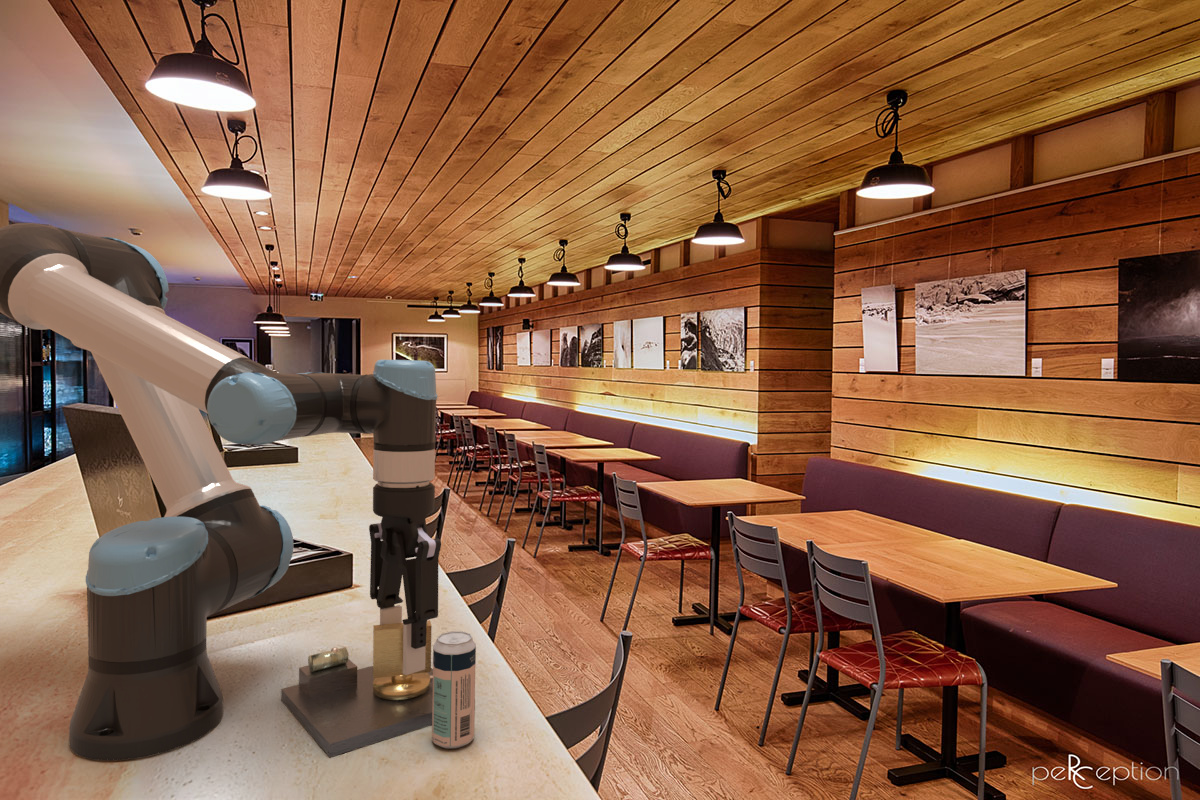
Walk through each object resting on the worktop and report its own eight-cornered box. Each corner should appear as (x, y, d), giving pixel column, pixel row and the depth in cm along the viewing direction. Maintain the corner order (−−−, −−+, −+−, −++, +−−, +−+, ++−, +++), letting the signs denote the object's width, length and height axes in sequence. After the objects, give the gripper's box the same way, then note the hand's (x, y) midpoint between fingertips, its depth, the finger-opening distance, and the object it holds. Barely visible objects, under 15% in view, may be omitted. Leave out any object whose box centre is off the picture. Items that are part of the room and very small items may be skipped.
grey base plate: (329, 757, 79) (330, 701, 79) (281, 700, 92) (281, 651, 92) (474, 710, 91) (475, 661, 91) (413, 665, 104) (414, 622, 104)
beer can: (476, 730, 86) (478, 630, 86) (471, 751, 81) (473, 645, 81) (435, 730, 86) (437, 629, 85) (427, 751, 81) (429, 645, 81)
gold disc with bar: (445, 694, 92) (446, 629, 91) (373, 702, 89) (374, 636, 88) (439, 671, 98) (440, 611, 98) (372, 679, 95) (372, 617, 95)
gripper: (471, 489, 88) (467, 678, 89) (394, 471, 101) (392, 637, 102) (416, 495, 83) (413, 697, 84) (342, 476, 96) (341, 651, 97)
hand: (401, 663), depth 93 cm, fingers open, 5 cm apart
